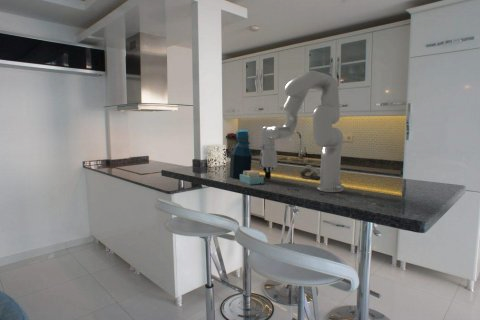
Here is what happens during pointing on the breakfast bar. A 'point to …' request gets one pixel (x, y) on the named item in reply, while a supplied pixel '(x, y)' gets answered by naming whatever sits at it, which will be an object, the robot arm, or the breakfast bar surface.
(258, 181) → the bay
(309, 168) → the futuristic pistol
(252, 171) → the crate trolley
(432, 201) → the breakfast bar surface
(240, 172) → the dark teal bottle
